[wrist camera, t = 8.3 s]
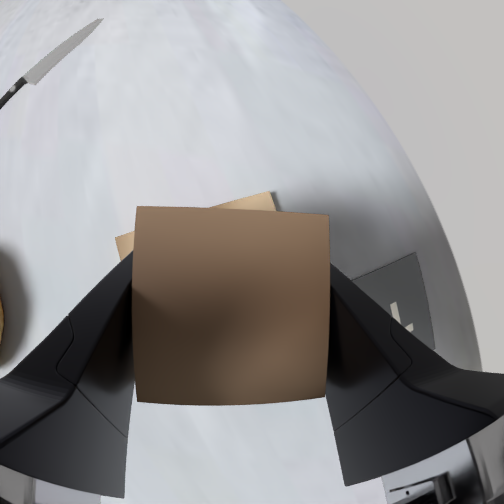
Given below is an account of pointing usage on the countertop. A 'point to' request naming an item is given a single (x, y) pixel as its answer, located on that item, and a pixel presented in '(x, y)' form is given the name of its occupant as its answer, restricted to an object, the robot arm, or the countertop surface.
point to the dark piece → (50, 60)
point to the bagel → (1, 319)
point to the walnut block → (230, 305)
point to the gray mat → (401, 296)
